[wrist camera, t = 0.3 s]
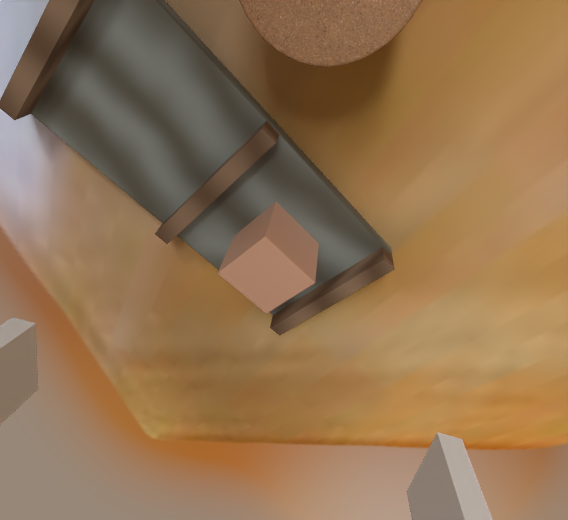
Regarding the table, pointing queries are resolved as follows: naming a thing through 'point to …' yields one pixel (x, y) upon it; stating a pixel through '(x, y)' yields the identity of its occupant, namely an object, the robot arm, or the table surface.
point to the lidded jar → (329, 27)
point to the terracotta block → (271, 259)
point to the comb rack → (185, 139)
